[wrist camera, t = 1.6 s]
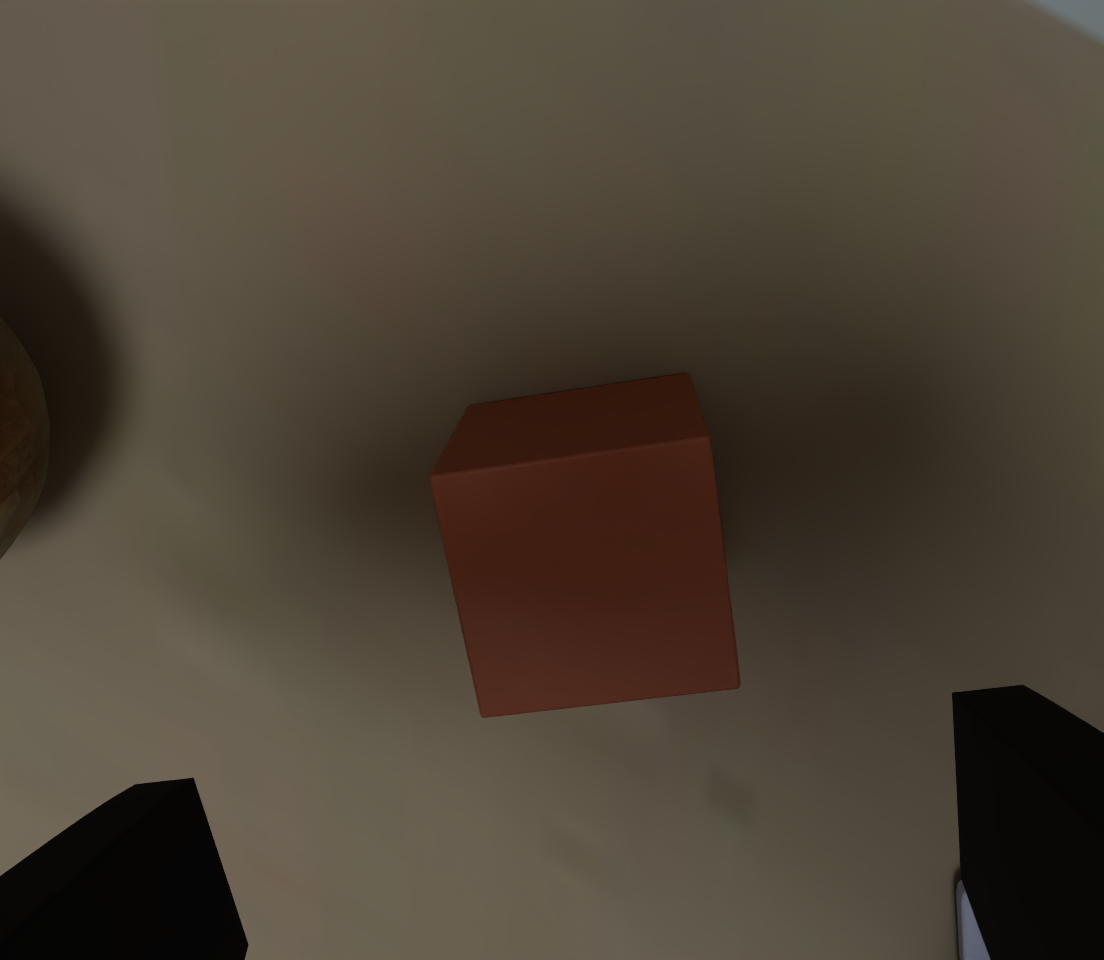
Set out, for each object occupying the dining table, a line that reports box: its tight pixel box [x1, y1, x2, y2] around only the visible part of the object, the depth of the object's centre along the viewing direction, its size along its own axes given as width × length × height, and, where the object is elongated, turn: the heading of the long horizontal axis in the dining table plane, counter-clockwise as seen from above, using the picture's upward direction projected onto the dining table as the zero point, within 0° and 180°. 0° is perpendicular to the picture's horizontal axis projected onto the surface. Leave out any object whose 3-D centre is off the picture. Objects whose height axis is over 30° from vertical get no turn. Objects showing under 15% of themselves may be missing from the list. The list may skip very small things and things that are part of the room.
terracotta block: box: [429, 373, 741, 718], centre depth 16 cm, size 4×4×4 cm
